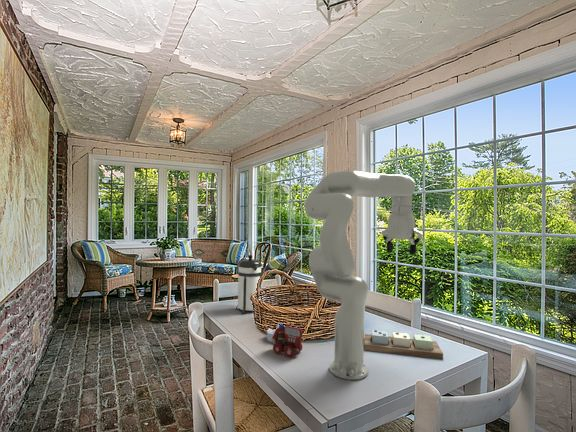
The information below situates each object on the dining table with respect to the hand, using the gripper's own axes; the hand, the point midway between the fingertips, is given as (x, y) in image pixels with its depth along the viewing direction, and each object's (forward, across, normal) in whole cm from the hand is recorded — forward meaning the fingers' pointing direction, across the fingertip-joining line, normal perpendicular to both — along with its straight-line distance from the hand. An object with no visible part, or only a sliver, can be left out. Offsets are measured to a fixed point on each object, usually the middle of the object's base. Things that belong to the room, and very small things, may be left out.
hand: (400, 253), depth 128 cm
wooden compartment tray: (+37, +2, -2) cm, 37 cm away
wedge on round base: (+37, -35, -32) cm, 60 cm away
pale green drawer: (+35, +8, +3) cm, 36 cm away
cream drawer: (+35, +2, -2) cm, 35 cm away
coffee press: (+37, -78, -18) cm, 88 cm away
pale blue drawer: (+35, -5, -6) cm, 36 cm away
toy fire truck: (+37, -24, -39) cm, 59 cm away
